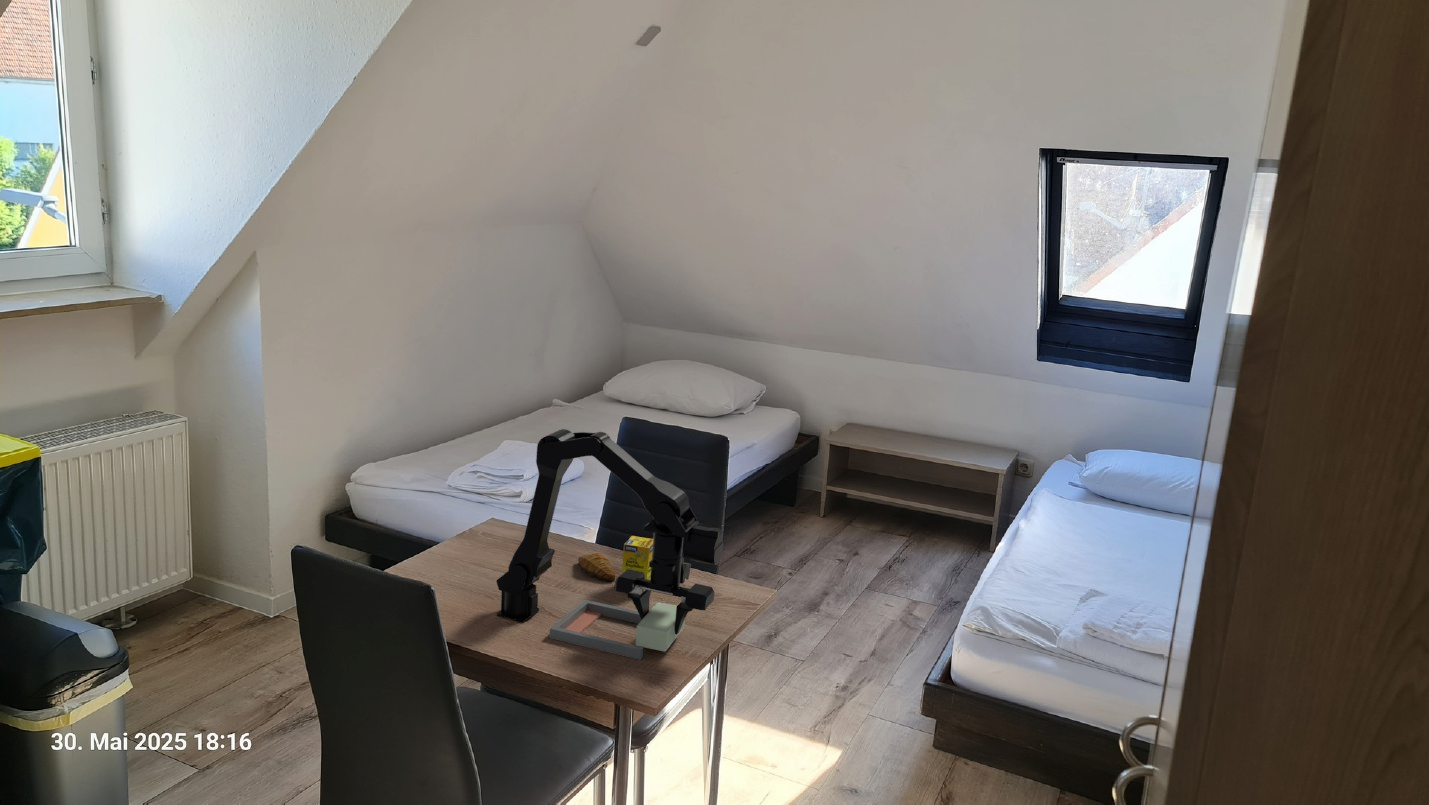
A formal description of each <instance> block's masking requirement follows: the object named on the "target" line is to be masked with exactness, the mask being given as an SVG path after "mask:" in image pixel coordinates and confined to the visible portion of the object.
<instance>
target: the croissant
mask: <svg viewBox="0 0 1429 805" xmlns="http://www.w3.org/2000/svg"><path fill="white" fill-rule="evenodd" d="M577 559H578V560H577V561H578V564H579V566H580V568H581V569H582V570H583V572H584V573H585V574H588V576H589V575H590V576H591V577H595V578H597V579H598V580H601V581H604V582H612V583H613V582H615V581H616V573H615V570H614V568H613V566H612V564H611V562H610V559H609V558H608V557H607V556H606V555H603V554H602V553H601V554H600V553H598V552H597V553H595V552H594V553H591V554H583V555H581V556H579V557H578V558H577Z"/></svg>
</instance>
